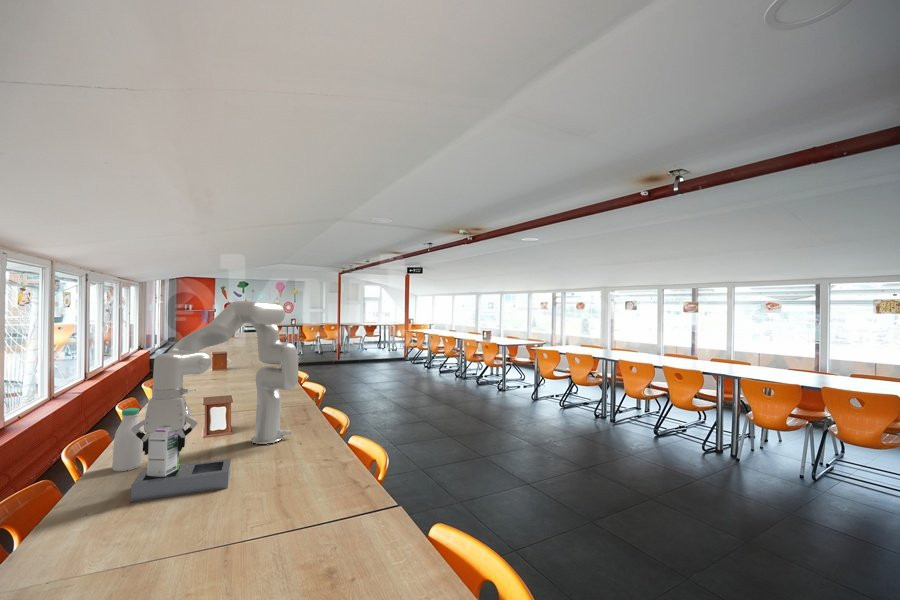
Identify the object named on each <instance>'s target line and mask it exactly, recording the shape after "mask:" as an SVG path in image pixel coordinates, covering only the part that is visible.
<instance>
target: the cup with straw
mask: <svg viewBox="0 0 900 600" xmlns="http://www.w3.org/2000/svg"><path fill="white" fill-rule="evenodd" d="M195 391H196V389H195V388H194V389H188V393H191V392H195ZM192 413H193V410H192V409H191V408H190V406H189V405H188V404H186V416H188V417H190V416H191V414H192ZM188 424H189V423H187V422H186V425H185V426H184V429H185V430H187V429H188Z"/></svg>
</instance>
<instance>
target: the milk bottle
mask: <svg viewBox="0 0 900 600" xmlns="http://www.w3.org/2000/svg"><path fill="white" fill-rule="evenodd" d="M139 415H140V408H137V407H129V408H124V409H122V411H121V418H122V419H121V422H120V424H119V426H118V428H117V429H116V431H115V433H114V434H115V435H114V440H113V450H112V451H113V452H112V454H113V455H112V467H111V469H112V471H114V472H127V470H128V471H132V470H136V469H137V468H139V467H141V465H142V458H143V442H142V440H141V439H140V438H138V437H137V436H136V434H134V433H133V431H132V430H131V428H132V427H134V426H135V425H137V424H138V423H140V422H141V421H140V419H139ZM139 429H140V431H142V432H143V433H144V428H143V426H142V427H140V428H139Z"/></svg>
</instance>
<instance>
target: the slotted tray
mask: <svg viewBox="0 0 900 600" xmlns="http://www.w3.org/2000/svg"><path fill="white" fill-rule="evenodd" d="M231 465H232V458H225V459H224V458H223V459H214V460H207V461H206V460H205V461H199V462H190V463H188V462H187V463H181V464H180V463H179V469H178V470H176V471H174V472H172V473H170V474H168V475H167V476H165V477H156V476H147V467H146V468H143V469H142V470H140V472H139V473H138V475H137V476H136V478H135V479H134V480H133V482H132V484H131V488H130V490H131V491H130V504H131V503H135V502H143V501H149V500H155V499H156V500H157V499H164V498H170V497H176V496H184V495H191V494H196V492H198V493H202V492H204V491H205V492H211V491H218V490H224V489H223V488H225V489H229V482H230V476H231ZM217 489H218V490H217ZM205 492H204V493H205Z"/></svg>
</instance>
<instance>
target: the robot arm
mask: <svg viewBox="0 0 900 600" xmlns="http://www.w3.org/2000/svg"><path fill="white" fill-rule="evenodd" d="M285 318H286V311H285V308H283V306H282V305H280V304H279V303H277V304H276V303H270V302H269V303H267V302H261V301H252V300H251V301H245V300H236V301H232V302H230V303H229V304H227V306H226V307H225V308H224V309H223V310H221V312H220V313H219V314H218V315H216V316H215V318H214V319H212V321H211V322H210V323H208V324H207V325H206V326H203V327H202V328H199V329H198V330H197V329H196V330H195V331H193V332H191V333H189V334H187V335H185V336H183V337H182V338H181V339H179V340H178V341H177V342H175V344H173V346H171V348H170V349H169V350H167V352H166V353H159V354H157V355H156V356H155V357H154V359H153V360H154V361H153V375H152V390H151V391H152V393H151V397H150V398H149V399H148V403H147V406H146V409H145V410H146V411H145V415H144V416H145V417H144V419H143V420H141V421H139V422H140V423H138V424H137V425H135V426H134V427H132V428H131V430H132V431H133V433H134V434H136V436H137V437H138V438H140V439H141V440H142V442H143V447H142V453H144V456H148V441H149V436H150V433H153V432H155V430H156V429H157V428H158V427H171V428H172V431H177V432H178V434H179V435H180V437H179V441H178V451H179V452H182V449H183V448H185V446H186V436H188V435H189V434H190V433H191V432H192V431H193V429H195V427H196V426H197V425H198V421H196V420H195V419H193V418H191V417H190V416H189V417H188V416H186V405H187V401H186V397H185V394H188V393H189V392H188V390H189V389H188V388H184V386H183V385H184V384H183V383H184V376H185V375H186V376H188V375H189V376H190V375H200V374H204V373H205V372H207V371H208V370H209V369H210V367H211V366H212V358H211V356H210V355H209V354H208V353H206V352H205V351H201V350H203V349H207V348H209V347H213V346H218V345H220V344H223V343H226V342H228V341H229V340H230V339H231V338H233V336H234V335H235V333H237V332H238V331H239V330H240V328H241V327H242V326H243V325H244V324H250V325H251V326H252V327H253V328H254V330H255V332H256V336H257V338H256V339H257V353H258V360H259V361H260V362H261V363H263V364H267V365H265V366H262V367H261V368H259V369H258V370H257V372H256V374H255V386H256V395H257V397H256V410H255V413H256V415H255V429H254V430H255V432H254V433H255V434H254V436H252V437H251V438H250V443H251V442H252V443H251V444H253V443H256V444H255V445H257V444H267V443H273V442H276V441H279V440H281V439H282V438H283V439H284V436H285V435H287V436H289V435H292V429H287V428H285V429H282V428H281V415H282V414H281V413H282V411H281V410H282V395H281V392H280V390H283V391H290V390H293V389H294V388H296V387H297V385H298V381H299V355H298V350H297V347H296V345H294V343H291V342H288V341H287V342H286V341H285V342H284V341H281V340H280V331H279V326H278V325H280V324H282V322H283V321H284V320H285ZM274 365H275V366H274ZM276 365H278V366H276ZM279 365H280V366H279ZM186 422H187V423H188V424H189V427H187V429H186V430H185V429H184V426H185V425H186ZM140 427H142V428H143V432H142V431H140V429H139V428H140ZM281 441H282V440H281ZM273 444H274V443H273ZM267 445H268V444H267Z"/></svg>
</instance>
